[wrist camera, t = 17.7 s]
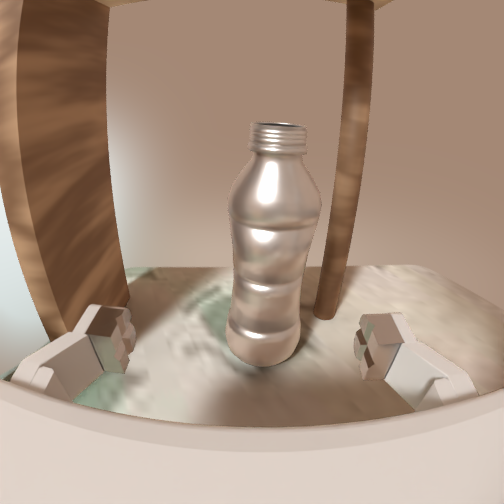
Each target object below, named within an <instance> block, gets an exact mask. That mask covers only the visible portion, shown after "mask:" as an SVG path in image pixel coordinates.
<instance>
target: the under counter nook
mask: <svg viewBox="0 0 504 504" xmlns="http://www.w3.org/2000/svg"><path fill="white" fill-rule="evenodd" d="M139 1H146V0H0V187H1V193H2V198H3V203H4V207H5V212H6V216H7V220H8V224H9V228H10V232H11V236H12V239H13V243H14V246H15V250H16V253H17V257H18V260H19V263H20V266H21V269H22V272H23V275H24V278H25V280H26V283H27V286H28V289H29V292H30V294H31V297H32V300H33V302H34V305H35V307H36V310H37V312H38V314H39V317H40V319H41V321H42V324H43V326H44V328H45V330H46V333H47V335H48V337H49V339H50V341H51V342H53V341H54V340H56V339H58V338H59V337H61V336H63V335H64V334H66V333H68V332H73V330H74V328H75V327H76V325H77V323H78V322H79V320H80V319H81V317H82V315H83V314H84V312H85V311H86V309H87V308H88V306H89V305H91V304H96V305H106V306H114V307H123V308H125V306H126V304H127V302H128V300H129V298H130V295H129V290H128V285H127V280H126V276H125V270H124V265H123V260H122V254H121V249H120V243H119V237H118V230H117V224H116V217H115V209H114V202H113V193H112V185H111V175H110V165H109V152H108V136H107V113H106V58H107V36H108V22H109V11H110V7H115V6H119V5H123V4H129V3H134V2H139ZM328 1H333V2H339V3H344V4H347V20H346V21H347V22H346V53H345V74H344V89H343V104H342V116H341V127H340V137H339V148H338V157H337V166H336V174H335V182H334V190H333V198H332V206H331V212H330V219H329V226H328V233H327V239H326V246H325V251H324V257H323V264H322V269H321V275H320V280H319V286H318V291H317V297H316V302H315V307H314V315H315V316H316V317H317V318H319V319H322V320H330V319H332V318H333V317H334V315H335V311H336V307H337V303H338V299H339V294H340V290H341V286H342V281H343V277H344V272H345V268H346V262H347V258H348V253H349V248H350V243H351V238H352V233H353V228H354V222H355V216H356V211H357V204H358V198H359V192H360V186H361V179H362V172H363V165H364V157H365V149H366V141H367V132H368V122H369V112H370V100H371V86H372V71H373V50H374V48H373V47H374V10H378V9H379V8H381V7H383V6H384V5H386V4H388V3H390V2H391V1H393V0H328Z"/></svg>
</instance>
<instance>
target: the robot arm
mask: <svg viewBox="0 0 504 504" xmlns="http://www.w3.org/2000/svg"><path fill="white" fill-rule="evenodd" d="M131 317H132V316H131V313H130V310H129V309H128V308H123V307H114V306H106V305H96V304H91V305H89V306H88V308H87V309H86V311H85V312H84V314H83V315H82V317H81V319H80V320H79V322H78V323H77V325H76V327H75V328H74V330H73V332H68V333H66V334H64V335H63V336H61V337H59V338H58V339H56V340H54V341H53V342H51V343H49V344H47V345H46V346H44V347H42V348H41V349H39V350H37V351H36V352H34V353H33V354H31V355H29V356H28V357H26V358H24V359H23V360H22V361H21V363H20V365H19V366H18V368H17V369H16V371H15V373H14V374H13V376H12V378H11V380H10V381H9V382H7V381H5V380H2V379H0V504H504V388H502V389H499V390H496V391H493V392H490V393H487V394H484V395H481V396H479V394H478V392H477V390H476V388H475V386H474V384H473V383H472V381H471V379H470V377H469V375H468V373H467V372H466V371H464V370H463V369H461V368H460V367H458V366H457V365H455V364H454V363H452V362H451V361H449V360H448V359H447V358H445V357H444V356H442V355H441V354H439V353H438V352H436V351H435V350H433V349H432V348H430V347H429V346H427V345H426V344H424V343H423V342H418V341H417V339H416V337H415V335H414V333H413V332H412V330H411V328H410V326H409V324H408V322H407V321H406V319H405V317H404V315H403V314H402V313H401V312H396V313H388V314H387V313H385V314H363V315H362V317H361V318H360V322H359V325H360V327H361V329H359V330H358V331H357V332H356V335H355V338H354V352H355V356H356V358H357V359H359V360H360V361H361V362H360V365H359V369H360V372H361V375H362V378H363V381H366V380H379V379H385V381H386V382H387V383H388V384H389V385H390V386H391V387H392V388H393V389H394V390H395V391H396V392H397V393H398V394H399V395H400V396H401V397H402V398H403V399H404V400H405V401H406V402H407V403H408V404H409V405H410V406H411V407H412V408H413V409H414V410H415V411H414V412H413V413H409V414H404V415H399V416H393V417H387V418H380V419H374V420H366V421H358V422H350V423H340V424H330V425H316V426H298V427H233V426H214V425H201V424H190V423H180V422H172V421H164V420H157V419H150V418H143V417H137V416H131V415H126V414H121V413H115V412H111V411H106V410H101V409H97V408H92V407H88V406H84V405H80V404H76V403H73V401H72V400H73V399H74V398H75V397H76V396H78V395H79V394H80V393H81V392H82V391H83V390H84V389H85V388H87V387H88V386H89V385H90V384H91V383H92V382H93V381H94V380H96V379H97V378H98V377H99V376H100V375H101V374H102V373H103V372H104V371H107V372H114V373H122V374H125V371H126V369H127V366H128V363H129V361H130V360H129V357H128V355H129V354H130V353H131V352H133V350H134V347H135V343H136V331H135V327H134V326H133V325H132V324H131V323H130V320H131Z"/></svg>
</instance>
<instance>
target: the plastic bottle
mask: <svg viewBox="0 0 504 504" xmlns="http://www.w3.org/2000/svg"><path fill="white" fill-rule="evenodd" d="M306 128H307V127H306V126H302V125H296V124H289V123H277V122H252V123H251V126H250V142H248V149H249V150H250V151H253V154H252V158H251V160H250V161H249V162H248V163H247V165H246V166H245V167H244V168H243V169H242V171H241V172H240V173H239V175H238V176H237V178H236V179H235V181H234V182H233V184H232V186H231V189H230V192H229V195H228V212H229V221H230V228H231V236H232V244H233V263H234V269H233V270H234V282H233V290H232V299H231V307H230V309H229V313H228V317H227V323H226V328H225V332H226V338H227V342H228V346H229V348H230V350H231V351H232V353H233V354H234V355H235V356H237V357H238V358H239V359H240V360H241V361H243V362H245V363H247V364H249V365H253V366H258V367H268V366H273V365H276V364H279V363H281V362H283V361H284V360H286V359H287V358H289V357H290V356H291V355H292V354H293V352H294V350H295V348H296V346H297V344H298V341H299V339H300V327H301V323H300V299H301V284H302V279H303V275H304V270H305V266H306V261H307V256H308V252H309V249H310V246H311V243H312V239H313V236H314V233H315V230H316V226H317V223H318V219H319V216H320V211H321V206H322V204H321V198H320V192H319V190H318V188H317V186H316V184H315V182H314V180H313V178H312V176H311V174H310V173H309V171H308V170H307V168H306V167H305V165H304V163H303V160H302V155H305V154H307V146H306V138H307V130H306Z"/></svg>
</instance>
